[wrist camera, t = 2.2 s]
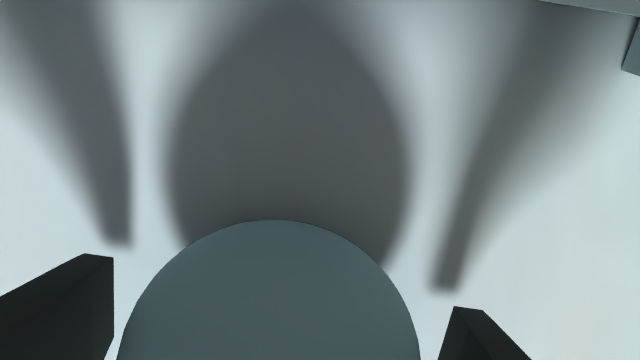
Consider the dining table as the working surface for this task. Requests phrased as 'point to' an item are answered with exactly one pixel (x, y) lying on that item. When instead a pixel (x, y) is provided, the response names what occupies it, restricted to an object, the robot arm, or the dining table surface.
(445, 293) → the dining table surface
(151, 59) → the dining table surface
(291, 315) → the ball
